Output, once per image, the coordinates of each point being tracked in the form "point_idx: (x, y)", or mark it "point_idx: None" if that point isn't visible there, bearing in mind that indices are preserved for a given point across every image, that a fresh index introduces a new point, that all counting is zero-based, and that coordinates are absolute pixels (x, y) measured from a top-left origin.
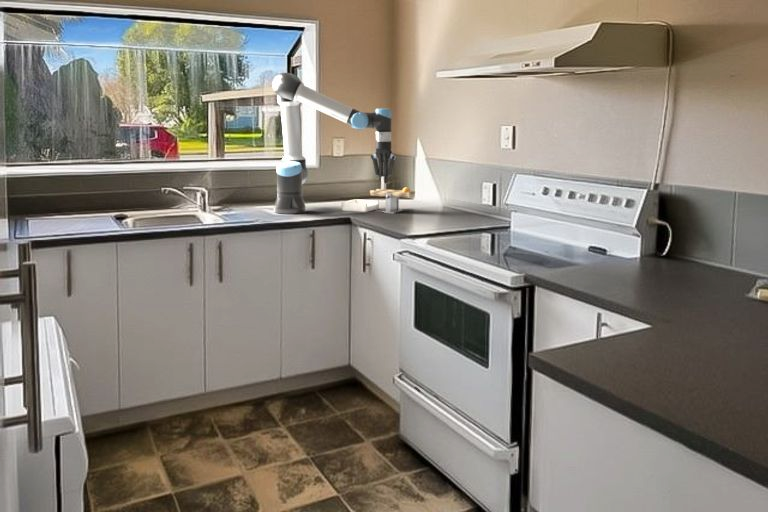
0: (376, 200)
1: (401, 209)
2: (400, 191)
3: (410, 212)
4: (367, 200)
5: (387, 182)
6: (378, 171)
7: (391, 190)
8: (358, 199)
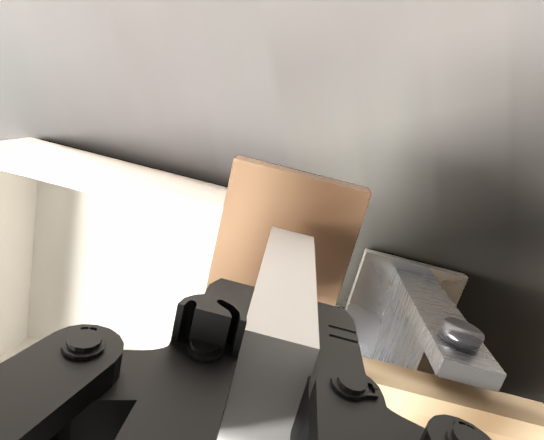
0: (214, 208)
1: (458, 282)
2: (531, 434)
3: (529, 330)
4: (123, 200)
5: (347, 313)
6: (46, 410)
7: (412, 409)
8: (20, 165)
